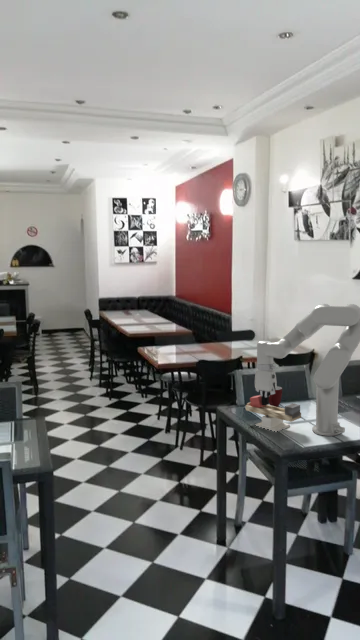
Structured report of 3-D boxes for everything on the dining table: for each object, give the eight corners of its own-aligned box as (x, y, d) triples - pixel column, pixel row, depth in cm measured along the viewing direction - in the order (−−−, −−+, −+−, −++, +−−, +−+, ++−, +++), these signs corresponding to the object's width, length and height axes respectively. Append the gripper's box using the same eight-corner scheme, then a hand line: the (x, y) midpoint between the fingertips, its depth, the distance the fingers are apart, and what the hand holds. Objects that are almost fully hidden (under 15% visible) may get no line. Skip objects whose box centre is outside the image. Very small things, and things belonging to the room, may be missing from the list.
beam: (301, 418, 236) (302, 404, 235) (290, 423, 229) (290, 408, 229) (256, 407, 254) (256, 394, 253) (244, 411, 248) (244, 398, 247)
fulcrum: (289, 426, 242) (290, 415, 241) (276, 432, 234) (276, 420, 234) (269, 420, 251) (269, 410, 250) (255, 426, 243) (255, 415, 242)
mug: (278, 410, 267) (278, 391, 266) (263, 408, 270) (263, 390, 269) (283, 405, 276) (283, 386, 275) (269, 403, 280) (269, 385, 278)
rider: (266, 405, 247) (263, 394, 248) (260, 407, 244) (258, 397, 244) (257, 405, 251) (255, 395, 251) (251, 408, 247) (249, 398, 247)
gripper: (282, 367, 239) (283, 405, 242) (257, 363, 250) (257, 400, 252) (273, 370, 234) (273, 409, 237) (247, 366, 245) (248, 403, 247)
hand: (265, 404), depth 244 cm, fingers closed
